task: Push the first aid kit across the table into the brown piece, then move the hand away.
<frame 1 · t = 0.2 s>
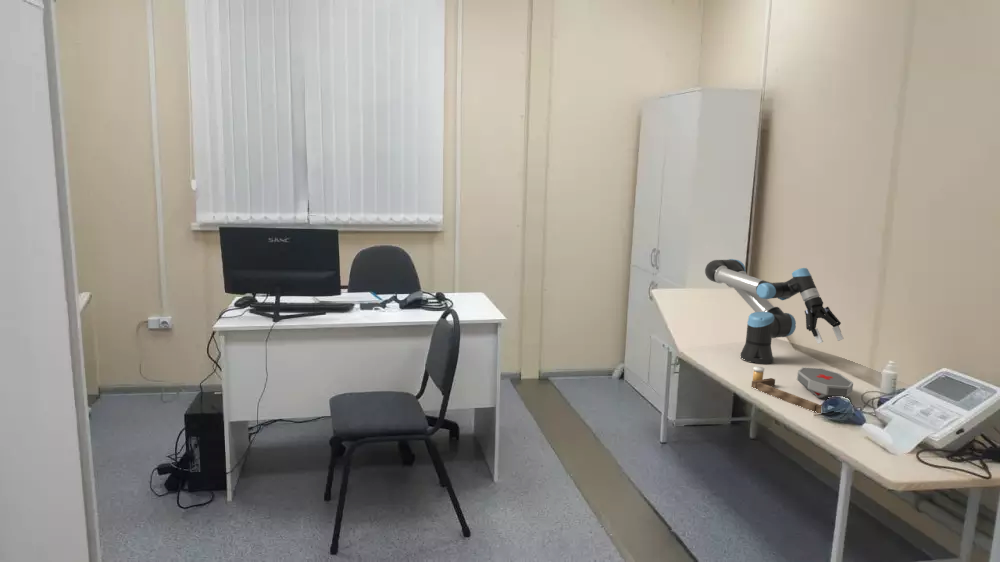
hand: (830, 341, 301), 16 cm above the table, tool tilted 35°, fingers open, 13 cm apart
brown piece: (795, 398, 267), on the table
pill bottle: (757, 383, 284), on the table
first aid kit: (822, 394, 275), on the table
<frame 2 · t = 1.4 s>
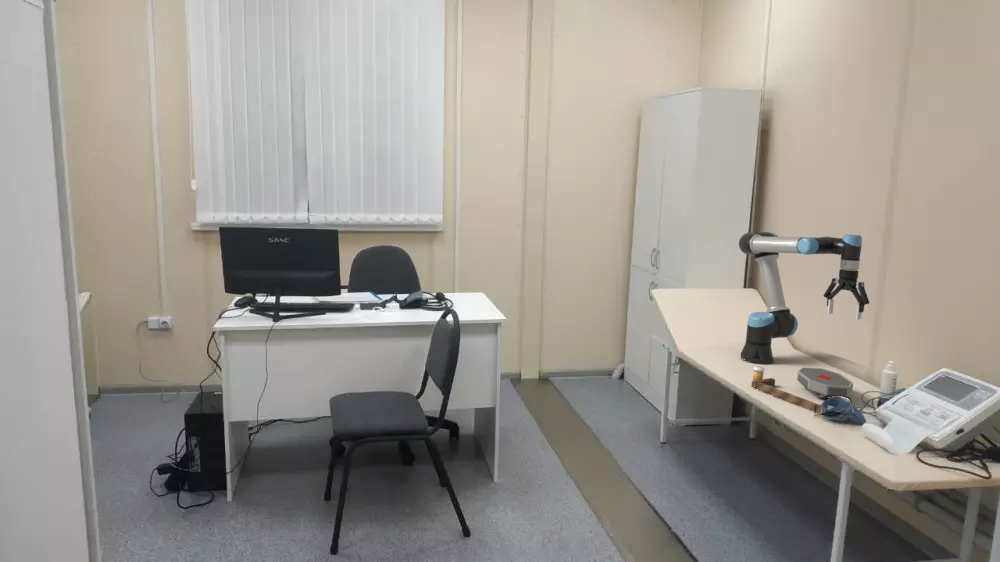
hand: (843, 316, 293), 29 cm above the table, tool pointing down, fingers open, 13 cm apart
nothing on the table moved.
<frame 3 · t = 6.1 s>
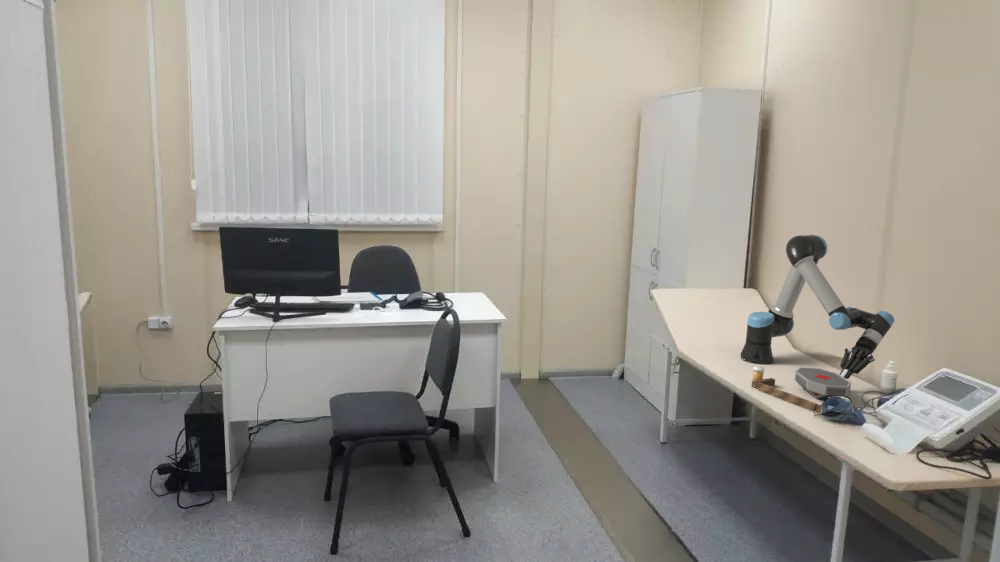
hand: (839, 382, 279), 4 cm above the table, tool tilted 45°, fingers closed
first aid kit: (820, 394, 275), on the table, touching gripper
everything else where it was.
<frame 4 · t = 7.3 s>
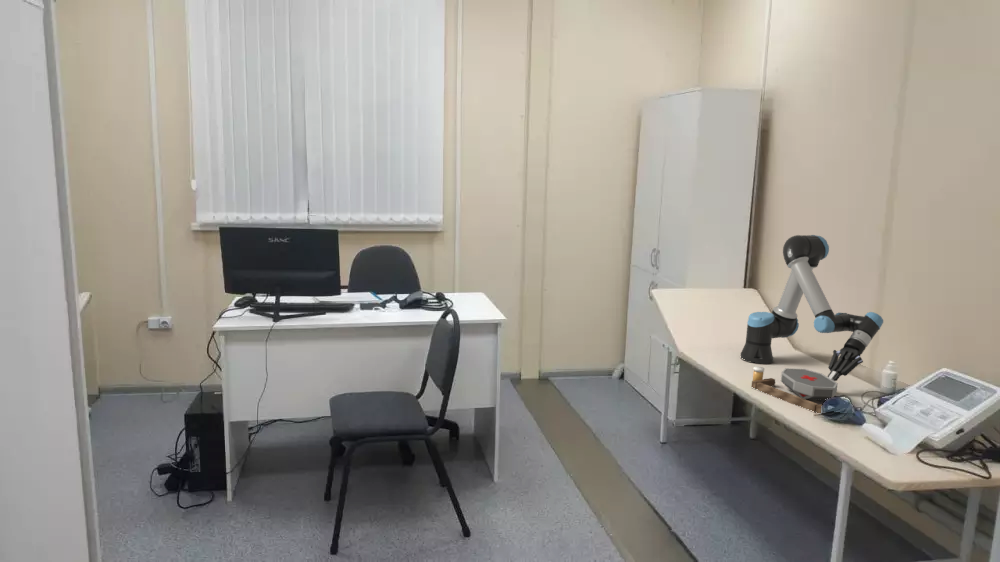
hand: (827, 384, 275), 4 cm above the table, tool tilted 45°, fingers closed
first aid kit: (806, 395, 272), on the table, touching gripper
everything else where it was.
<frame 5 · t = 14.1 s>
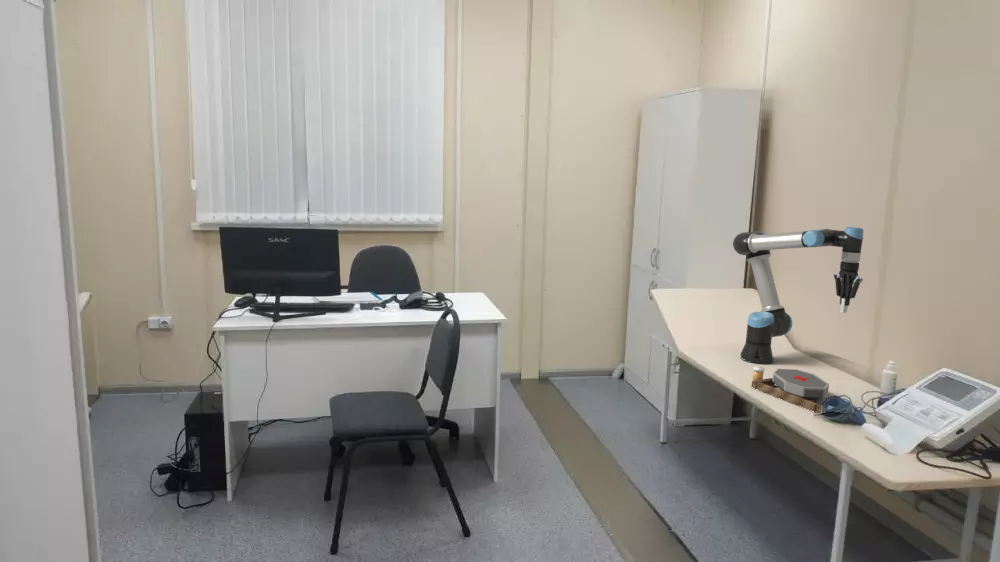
hand: (843, 312, 300), 29 cm above the table, tool pointing down, fingers closed
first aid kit: (798, 395, 271), on the table
everything else where it was.
at the end: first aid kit inside the target area (2.4 cm from its centre), on the table; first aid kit moved 12.3 cm from its start; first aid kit tilted 0° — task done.
